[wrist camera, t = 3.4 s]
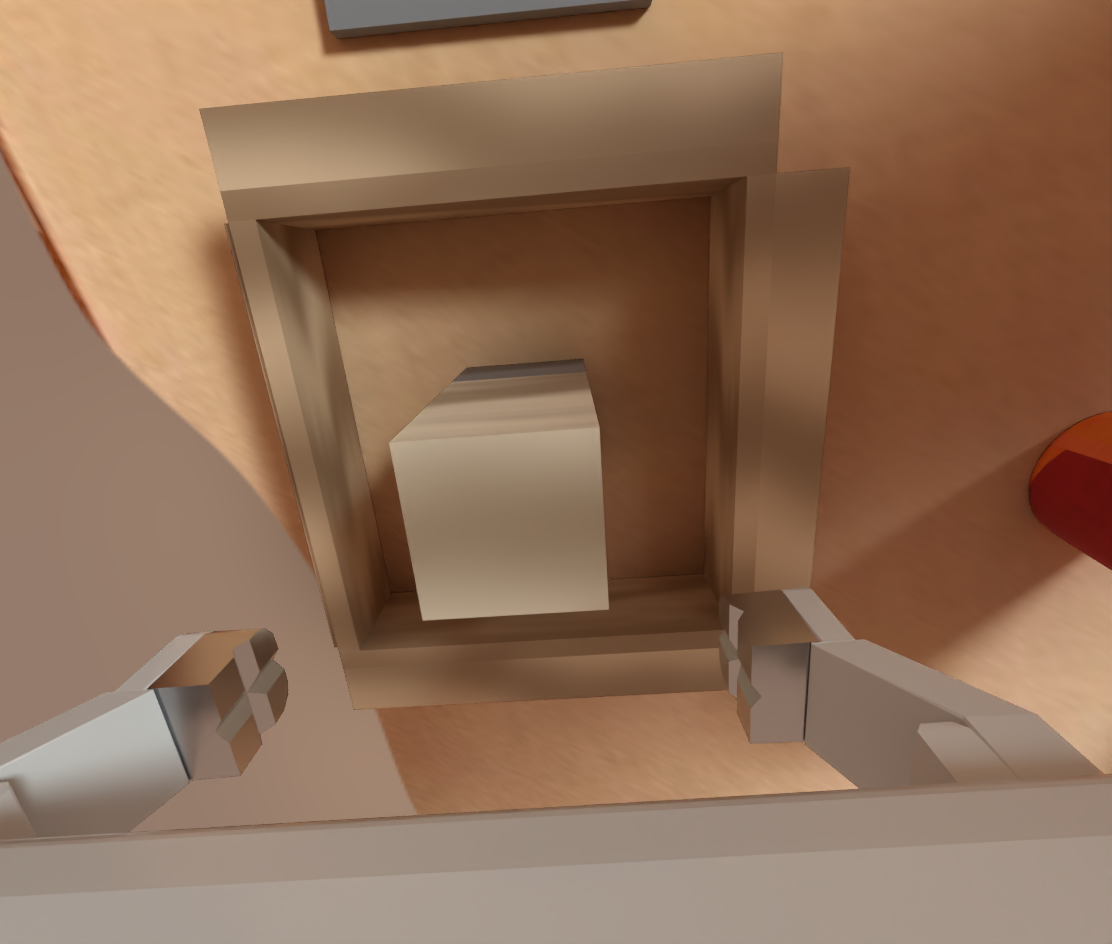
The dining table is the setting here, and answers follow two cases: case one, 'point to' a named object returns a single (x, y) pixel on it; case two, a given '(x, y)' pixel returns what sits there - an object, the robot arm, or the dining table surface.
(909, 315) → the dining table surface
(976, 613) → the dining table surface
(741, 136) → the wooden frame
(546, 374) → the box
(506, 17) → the rubber mat
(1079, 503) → the paper cup
